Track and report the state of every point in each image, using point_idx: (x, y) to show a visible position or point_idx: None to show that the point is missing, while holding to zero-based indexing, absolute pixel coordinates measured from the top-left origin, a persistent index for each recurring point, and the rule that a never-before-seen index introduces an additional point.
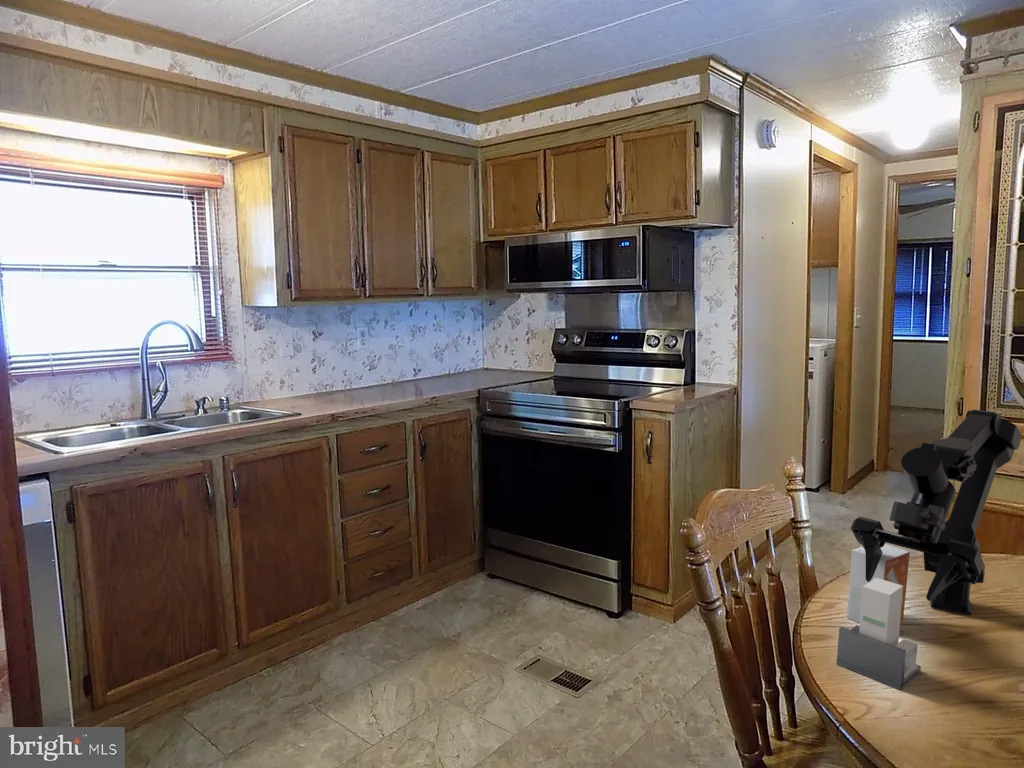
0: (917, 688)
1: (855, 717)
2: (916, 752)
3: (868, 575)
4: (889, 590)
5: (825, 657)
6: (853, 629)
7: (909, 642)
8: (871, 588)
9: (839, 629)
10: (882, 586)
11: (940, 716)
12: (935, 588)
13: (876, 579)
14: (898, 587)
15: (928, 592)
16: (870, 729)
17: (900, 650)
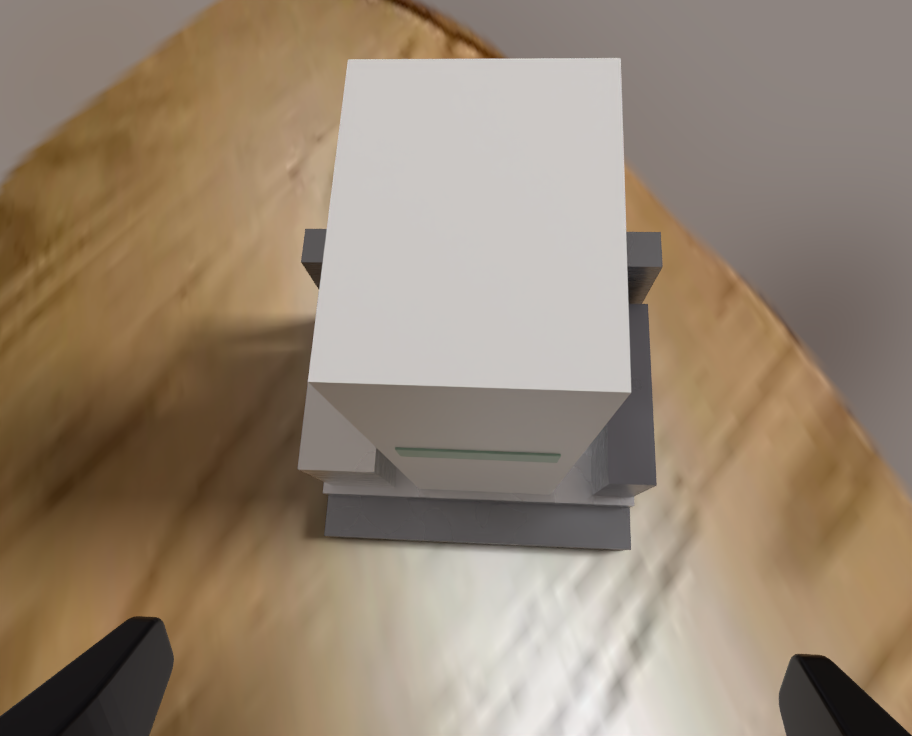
0: (305, 378)
1: (413, 52)
2: (223, 25)
3: (822, 682)
4: (383, 149)
5: (681, 339)
6: (641, 414)
7: (337, 451)
8: (534, 69)
9: (657, 235)
10: (472, 191)
11: (199, 249)
12: (10, 708)
13: (604, 334)
14: (335, 294)
15: (117, 651)
16: (357, 30)
17: (323, 239)
